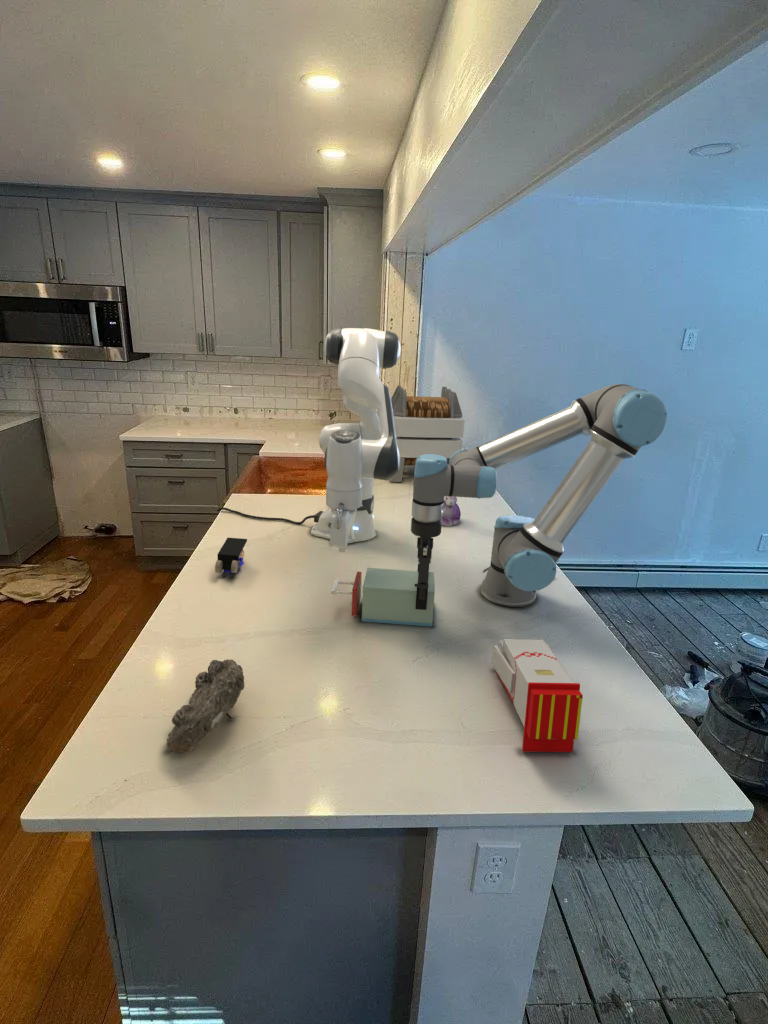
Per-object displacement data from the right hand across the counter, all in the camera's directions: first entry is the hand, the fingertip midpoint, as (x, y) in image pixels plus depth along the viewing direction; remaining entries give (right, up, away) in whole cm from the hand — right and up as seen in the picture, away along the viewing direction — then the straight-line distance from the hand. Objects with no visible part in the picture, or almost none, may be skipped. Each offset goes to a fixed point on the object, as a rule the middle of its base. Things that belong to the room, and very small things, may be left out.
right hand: (421, 597), depth 146 cm
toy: (+20, -17, -30) cm, 40 cm away
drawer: (-12, -3, +2) cm, 13 cm away
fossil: (-42, -17, -38) cm, 59 cm away
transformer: (+8, +41, +129) cm, 135 cm away
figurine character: (-54, +5, +21) cm, 59 cm away
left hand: (-20, +12, -3) cm, 24 cm away
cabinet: (-6, -4, +2) cm, 8 cm away
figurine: (+15, +18, +67) cm, 71 cm away
